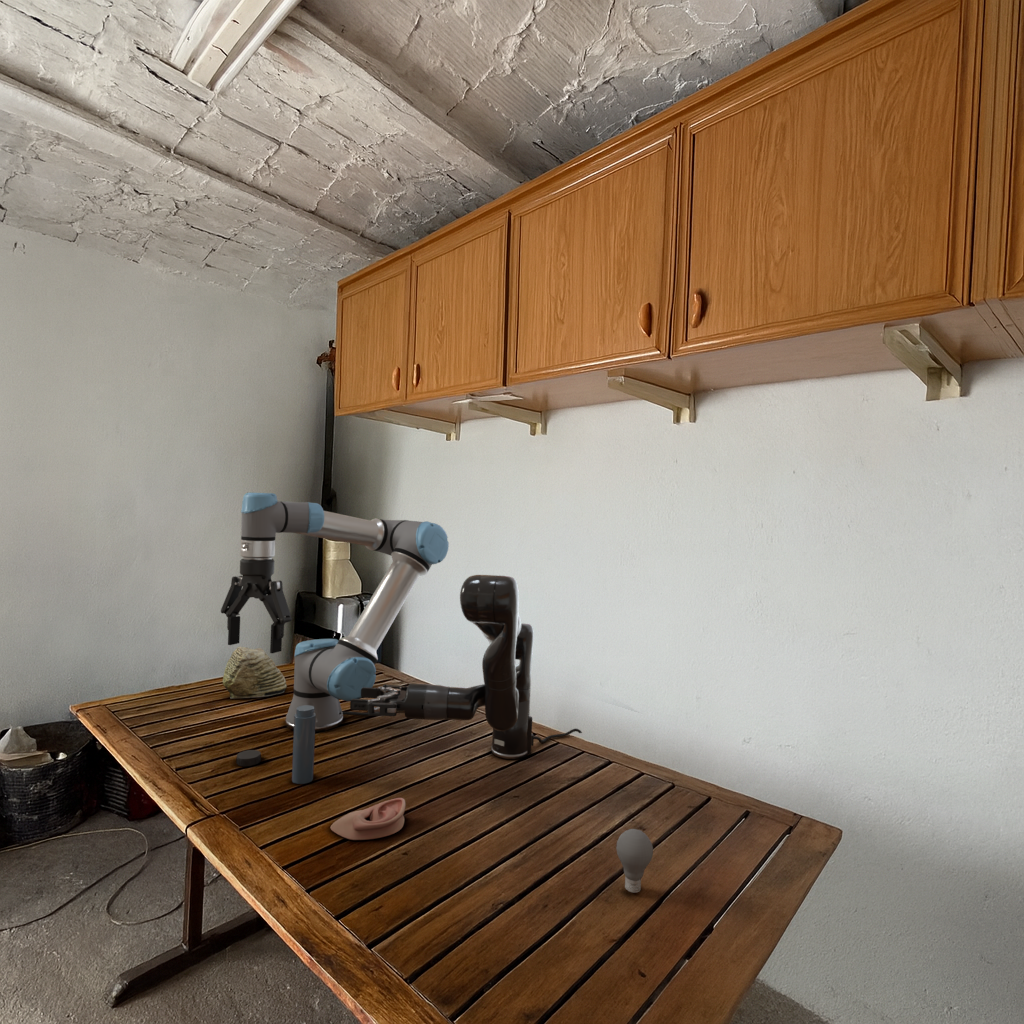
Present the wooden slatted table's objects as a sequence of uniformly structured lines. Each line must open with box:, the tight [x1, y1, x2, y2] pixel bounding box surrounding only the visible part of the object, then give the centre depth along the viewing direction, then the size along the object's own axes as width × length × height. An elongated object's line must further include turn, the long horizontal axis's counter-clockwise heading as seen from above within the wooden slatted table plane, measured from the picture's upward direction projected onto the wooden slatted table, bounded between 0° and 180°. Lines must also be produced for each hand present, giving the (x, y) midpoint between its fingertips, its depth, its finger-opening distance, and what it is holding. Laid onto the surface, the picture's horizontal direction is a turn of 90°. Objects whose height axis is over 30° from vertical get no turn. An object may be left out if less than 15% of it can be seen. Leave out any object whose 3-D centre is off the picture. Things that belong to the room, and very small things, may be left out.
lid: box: [235, 749, 262, 767], centre depth 149 cm, size 5×5×2 cm
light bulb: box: [615, 828, 654, 894], centre depth 106 cm, size 6×6×10 cm
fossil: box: [222, 646, 288, 699], centre depth 198 cm, size 9×18×15 cm, turn 132°
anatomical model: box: [330, 797, 407, 841], centre depth 123 cm, size 13×4×12 cm
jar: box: [291, 705, 316, 785], centre depth 141 cm, size 5×5×16 cm
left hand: (254, 648), depth 149 cm, fingers open, 13 cm apart
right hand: (356, 698), depth 141 cm, fingers open, 8 cm apart
